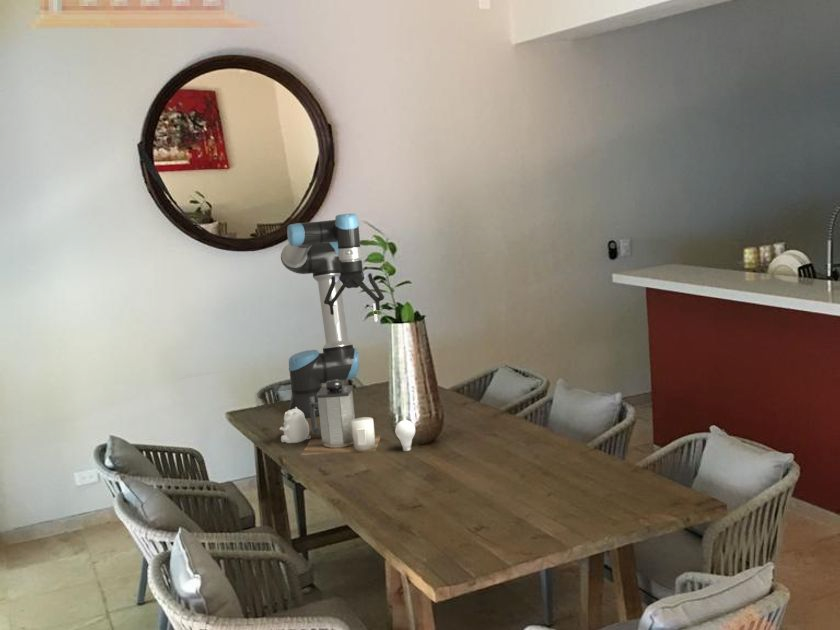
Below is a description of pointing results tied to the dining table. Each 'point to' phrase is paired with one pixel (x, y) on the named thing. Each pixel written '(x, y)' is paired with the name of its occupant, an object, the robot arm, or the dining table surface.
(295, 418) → the figurine
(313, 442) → the board
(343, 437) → the carafe
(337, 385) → the plunger
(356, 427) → the mug
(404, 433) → the lightbulb
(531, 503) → the dining table surface
